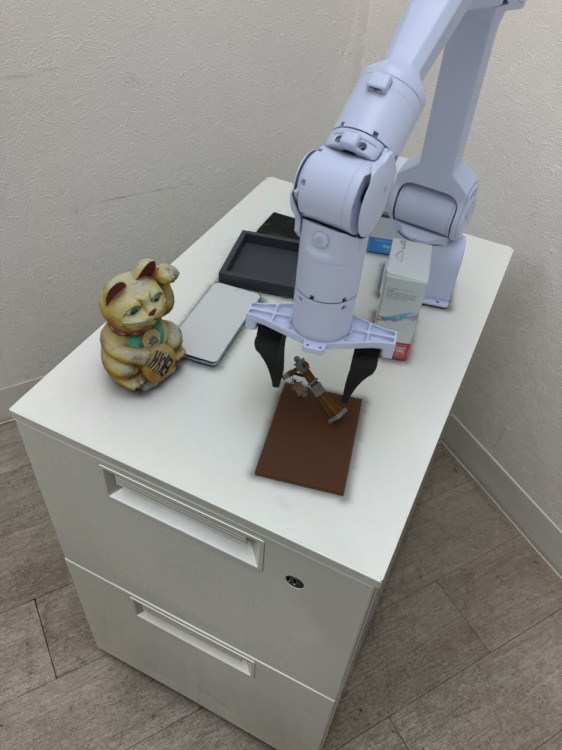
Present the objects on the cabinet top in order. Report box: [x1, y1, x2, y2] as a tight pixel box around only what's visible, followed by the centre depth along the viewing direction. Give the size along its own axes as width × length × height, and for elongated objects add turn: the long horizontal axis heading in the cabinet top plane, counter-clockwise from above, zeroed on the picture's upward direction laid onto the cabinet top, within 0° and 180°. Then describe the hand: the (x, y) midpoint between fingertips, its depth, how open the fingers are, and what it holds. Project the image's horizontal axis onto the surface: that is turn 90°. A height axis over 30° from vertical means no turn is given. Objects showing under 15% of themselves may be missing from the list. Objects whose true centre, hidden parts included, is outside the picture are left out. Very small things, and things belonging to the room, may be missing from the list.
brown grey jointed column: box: [281, 355, 347, 424], centre depth 63 cm, size 2×8×4 cm
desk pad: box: [254, 382, 363, 496], centre depth 61 cm, size 9×13×1 cm
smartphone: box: [179, 281, 262, 366], centre depth 73 cm, size 7×1×15 cm
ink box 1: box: [366, 156, 411, 255], centre depth 86 cm, size 8×5×12 cm, turn 168°
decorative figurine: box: [97, 258, 186, 392], centre depth 62 cm, size 10×8×15 cm
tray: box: [218, 229, 300, 299], centre depth 82 cm, size 11×12×2 cm
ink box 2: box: [373, 238, 432, 361], centre depth 70 cm, size 9×5×12 cm, turn 166°
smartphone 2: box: [255, 211, 300, 240], centre depth 88 cm, size 7×1×15 cm
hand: (311, 388), depth 62 cm, fingers open, 7 cm apart
